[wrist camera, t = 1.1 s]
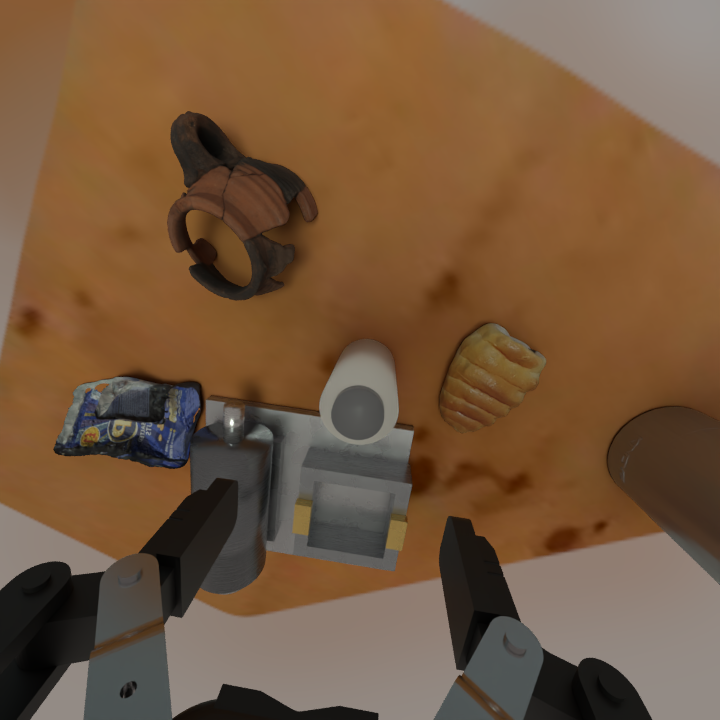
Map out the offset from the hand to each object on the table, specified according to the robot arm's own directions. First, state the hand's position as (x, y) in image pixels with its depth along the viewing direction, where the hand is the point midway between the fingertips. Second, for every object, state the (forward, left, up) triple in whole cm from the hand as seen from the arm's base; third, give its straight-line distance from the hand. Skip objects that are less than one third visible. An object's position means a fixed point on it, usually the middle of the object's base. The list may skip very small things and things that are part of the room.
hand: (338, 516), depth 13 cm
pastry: (-10, -1, -18) cm, 21 cm away
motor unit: (+5, +13, -18) cm, 22 cm away
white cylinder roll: (0, 0, -18) cm, 18 cm away
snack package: (+20, +7, -19) cm, 28 cm away
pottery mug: (+11, -11, -18) cm, 24 cm away
